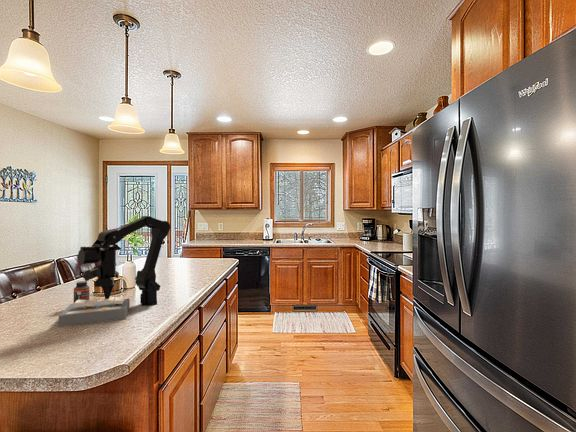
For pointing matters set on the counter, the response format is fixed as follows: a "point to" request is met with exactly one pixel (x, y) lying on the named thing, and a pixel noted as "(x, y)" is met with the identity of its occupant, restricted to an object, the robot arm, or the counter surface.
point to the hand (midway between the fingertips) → (107, 299)
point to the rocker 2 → (114, 300)
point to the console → (94, 313)
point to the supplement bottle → (81, 291)
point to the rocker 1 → (85, 303)
